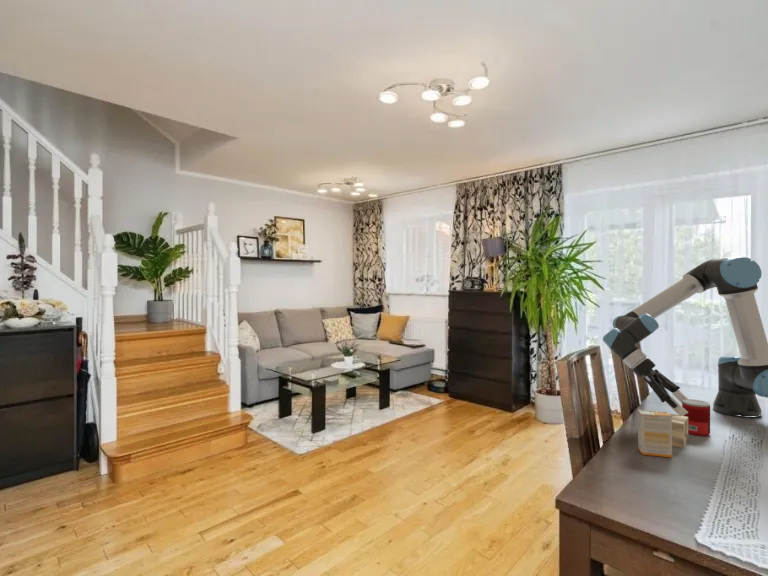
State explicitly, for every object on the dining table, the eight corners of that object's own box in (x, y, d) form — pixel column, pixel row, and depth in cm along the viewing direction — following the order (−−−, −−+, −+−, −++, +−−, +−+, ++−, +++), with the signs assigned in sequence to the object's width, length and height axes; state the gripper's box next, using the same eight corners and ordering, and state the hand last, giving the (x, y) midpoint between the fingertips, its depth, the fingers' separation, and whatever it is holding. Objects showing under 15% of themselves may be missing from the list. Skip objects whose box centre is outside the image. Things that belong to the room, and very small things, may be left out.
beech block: (653, 433, 146) (653, 410, 146) (688, 440, 139) (688, 416, 139) (647, 440, 138) (647, 417, 138) (683, 448, 132) (683, 424, 131)
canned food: (715, 437, 141) (715, 405, 141) (689, 435, 142) (689, 404, 142) (702, 429, 148) (702, 399, 148) (678, 428, 150) (677, 398, 150)
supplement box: (667, 452, 129) (667, 411, 129) (672, 458, 124) (672, 415, 124) (637, 449, 131) (637, 408, 131) (641, 454, 127) (641, 413, 127)
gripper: (639, 364, 168) (684, 408, 157) (622, 374, 150) (672, 424, 139) (654, 353, 164) (701, 397, 153) (639, 362, 146) (691, 412, 136)
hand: (687, 410), depth 146 cm, fingers open, 13 cm apart
